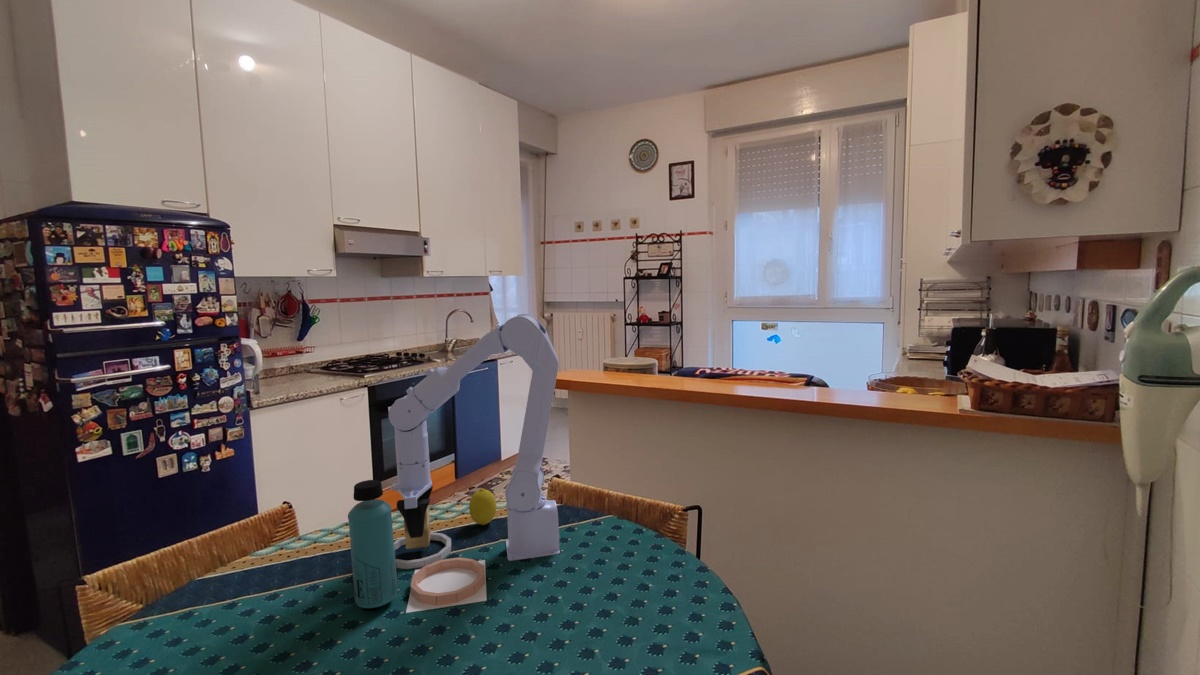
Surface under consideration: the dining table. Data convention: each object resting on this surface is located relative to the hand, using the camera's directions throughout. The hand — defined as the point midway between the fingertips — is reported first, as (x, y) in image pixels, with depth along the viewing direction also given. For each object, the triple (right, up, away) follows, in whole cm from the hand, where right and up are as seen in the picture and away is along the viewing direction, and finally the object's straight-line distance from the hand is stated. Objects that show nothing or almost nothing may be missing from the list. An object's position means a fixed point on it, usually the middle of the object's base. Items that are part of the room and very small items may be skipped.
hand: (417, 531), depth 100 cm
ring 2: (+9, -5, -11) cm, 15 cm away
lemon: (+10, -3, +12) cm, 16 cm away
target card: (+9, -5, -11) cm, 15 cm away
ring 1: (0, -5, 0) cm, 5 cm away
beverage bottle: (-1, -6, -16) cm, 17 cm away
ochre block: (0, -2, 0) cm, 2 cm away
